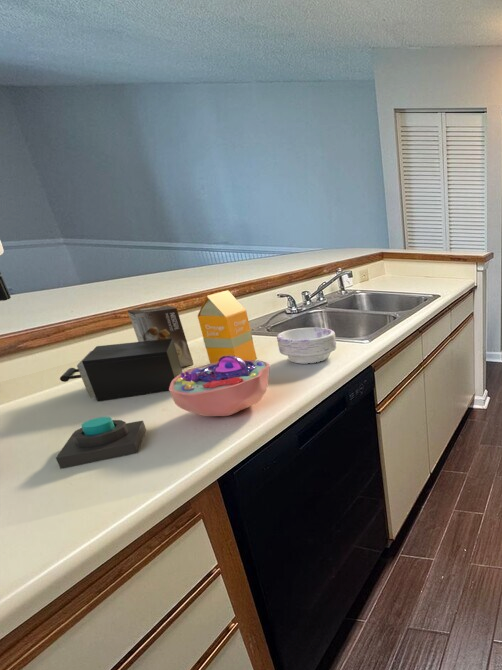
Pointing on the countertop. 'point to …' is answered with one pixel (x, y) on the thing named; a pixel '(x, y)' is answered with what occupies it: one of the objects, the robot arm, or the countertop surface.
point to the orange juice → (225, 327)
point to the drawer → (70, 375)
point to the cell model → (221, 386)
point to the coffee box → (161, 328)
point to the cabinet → (132, 368)
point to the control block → (102, 444)
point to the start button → (97, 425)
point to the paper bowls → (307, 344)
